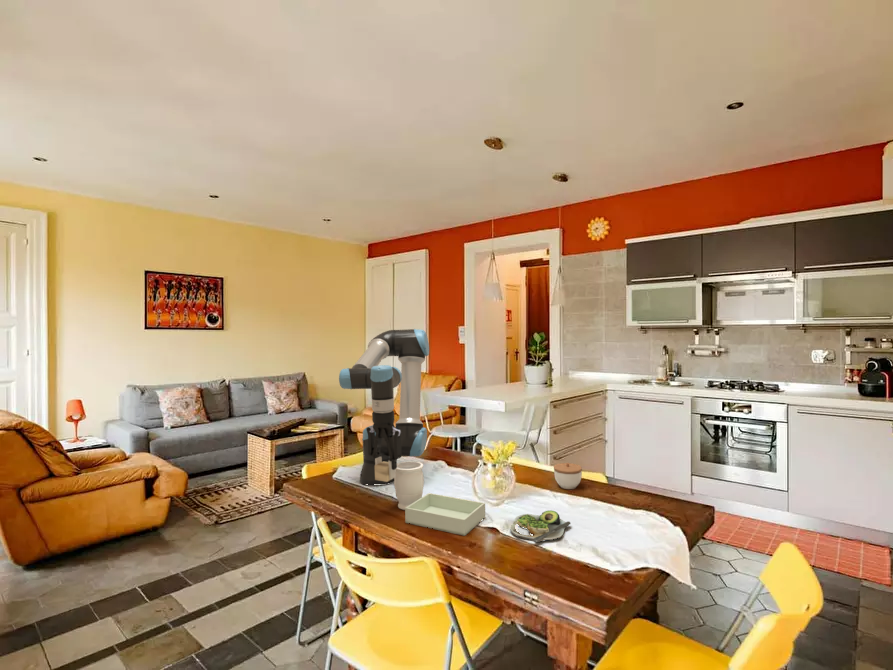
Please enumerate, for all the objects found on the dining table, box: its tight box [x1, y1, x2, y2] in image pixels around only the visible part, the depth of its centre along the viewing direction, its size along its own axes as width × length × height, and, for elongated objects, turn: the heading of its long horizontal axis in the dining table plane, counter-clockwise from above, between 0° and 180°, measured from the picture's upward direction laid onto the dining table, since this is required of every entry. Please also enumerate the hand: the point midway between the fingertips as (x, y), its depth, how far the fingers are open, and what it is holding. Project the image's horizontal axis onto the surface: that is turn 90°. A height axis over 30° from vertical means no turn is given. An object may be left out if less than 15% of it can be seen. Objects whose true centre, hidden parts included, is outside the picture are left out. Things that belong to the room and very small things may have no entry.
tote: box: [404, 492, 486, 537], centre depth 164 cm, size 15×22×5 cm
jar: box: [393, 461, 425, 511], centre depth 177 cm, size 11×10×15 cm
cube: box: [375, 461, 390, 482], centre depth 170 cm, size 5×5×5 cm
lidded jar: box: [553, 462, 583, 490], centre depth 193 cm, size 11×11×9 cm
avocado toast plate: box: [509, 509, 571, 543], centre depth 154 cm, size 19×18×5 cm
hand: (385, 476), depth 170 cm, fingers closed on cube, 5 cm apart
